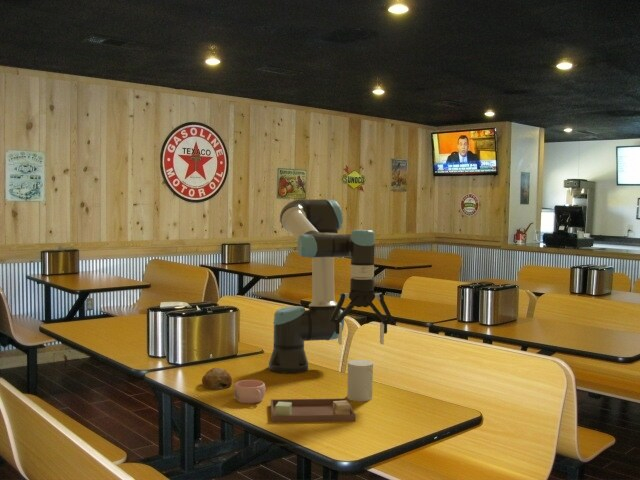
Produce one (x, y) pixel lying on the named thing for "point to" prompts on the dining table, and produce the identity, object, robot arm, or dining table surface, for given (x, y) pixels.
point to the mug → (249, 391)
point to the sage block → (284, 408)
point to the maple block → (341, 407)
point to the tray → (311, 411)
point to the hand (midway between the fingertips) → (360, 343)
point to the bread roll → (217, 379)
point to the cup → (360, 380)
